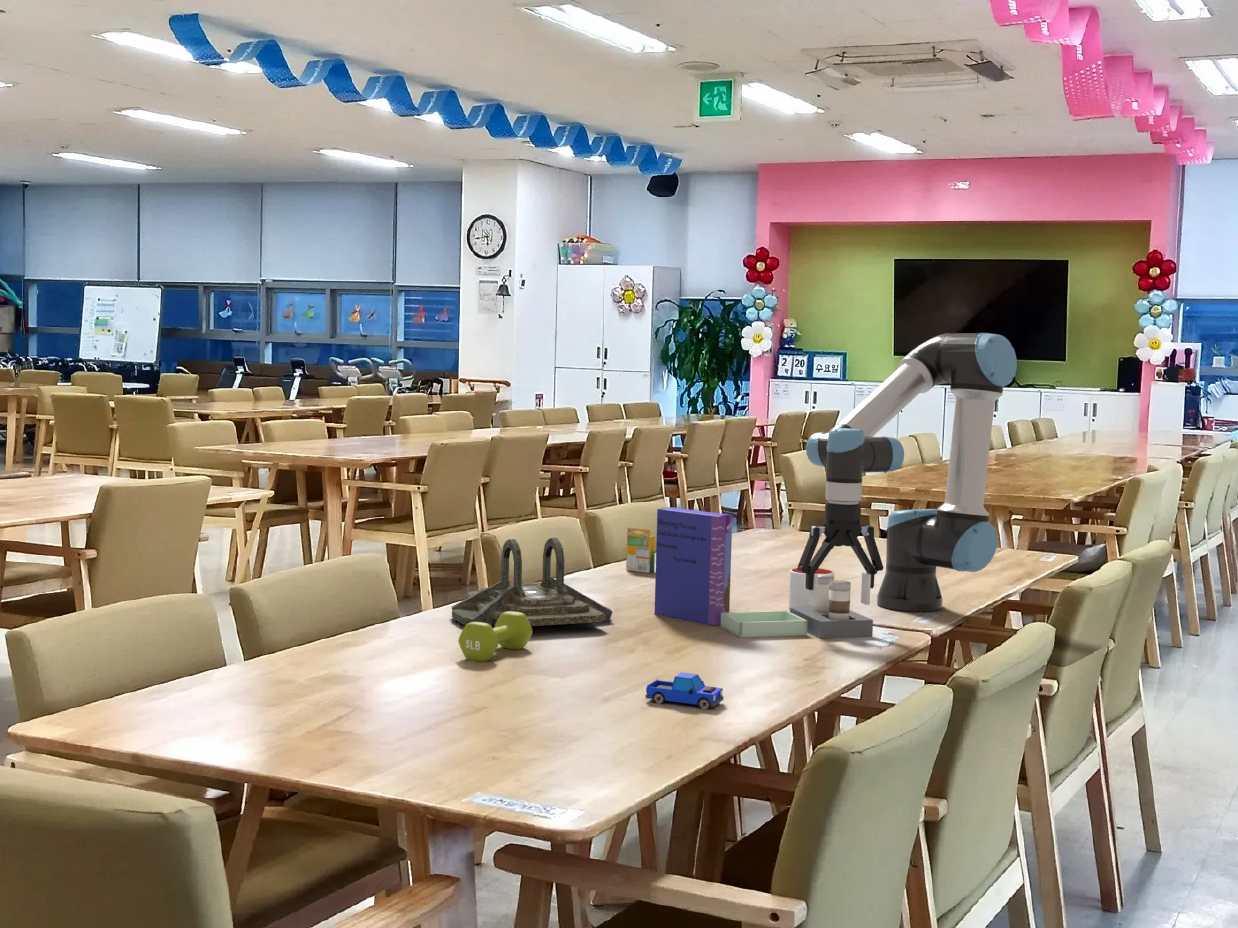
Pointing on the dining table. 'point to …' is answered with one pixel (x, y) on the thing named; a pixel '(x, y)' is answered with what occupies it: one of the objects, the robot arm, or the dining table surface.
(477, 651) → the dumbbell
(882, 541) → the dining table surface
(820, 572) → the cup
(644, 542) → the crayon box
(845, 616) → the cylinder
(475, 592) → the metal base with loops
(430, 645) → the dining table surface
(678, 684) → the toy car
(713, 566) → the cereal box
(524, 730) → the dining table surface
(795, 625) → the parts tray
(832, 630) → the fuse holder block
